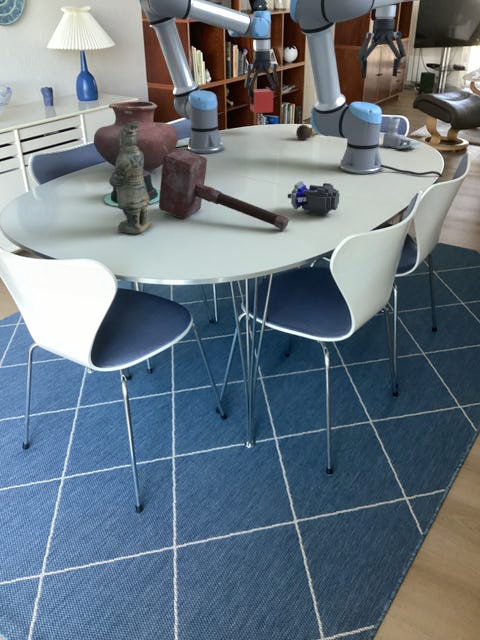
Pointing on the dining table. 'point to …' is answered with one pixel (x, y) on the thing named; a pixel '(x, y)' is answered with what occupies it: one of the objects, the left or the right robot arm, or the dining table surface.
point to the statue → (131, 182)
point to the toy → (315, 198)
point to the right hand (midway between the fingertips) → (379, 77)
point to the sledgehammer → (200, 190)
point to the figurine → (304, 132)
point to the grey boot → (396, 136)
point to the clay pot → (137, 134)
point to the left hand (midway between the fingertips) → (261, 103)
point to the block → (262, 101)
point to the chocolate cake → (152, 192)
